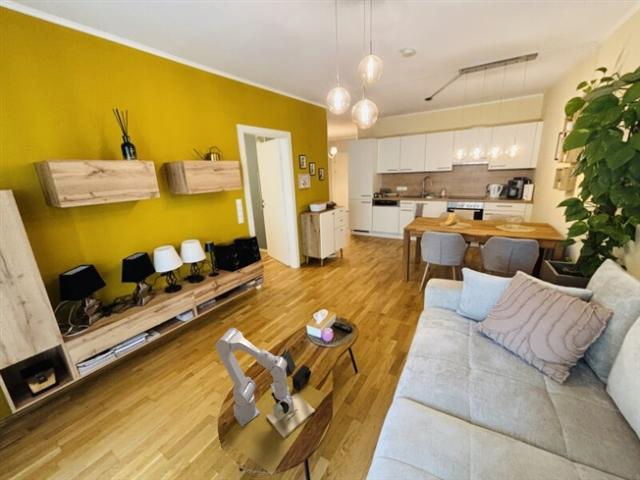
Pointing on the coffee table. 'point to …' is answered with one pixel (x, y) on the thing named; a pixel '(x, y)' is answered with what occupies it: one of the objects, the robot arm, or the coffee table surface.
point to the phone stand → (288, 361)
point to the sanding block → (281, 411)
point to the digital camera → (301, 377)
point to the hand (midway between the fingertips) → (282, 408)
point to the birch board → (292, 416)
